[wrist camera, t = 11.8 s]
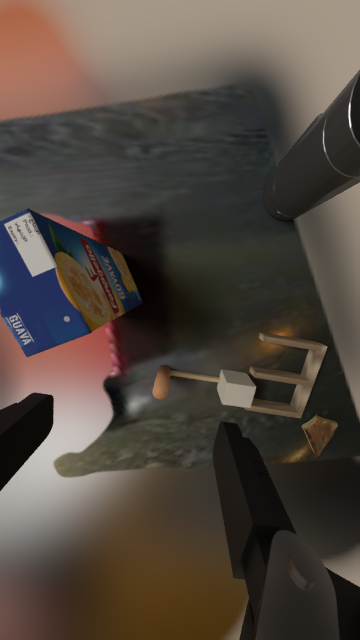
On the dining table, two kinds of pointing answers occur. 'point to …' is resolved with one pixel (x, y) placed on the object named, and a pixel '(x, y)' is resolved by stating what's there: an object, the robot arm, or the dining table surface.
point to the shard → (319, 432)
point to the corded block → (230, 383)
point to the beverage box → (58, 282)
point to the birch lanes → (290, 377)
